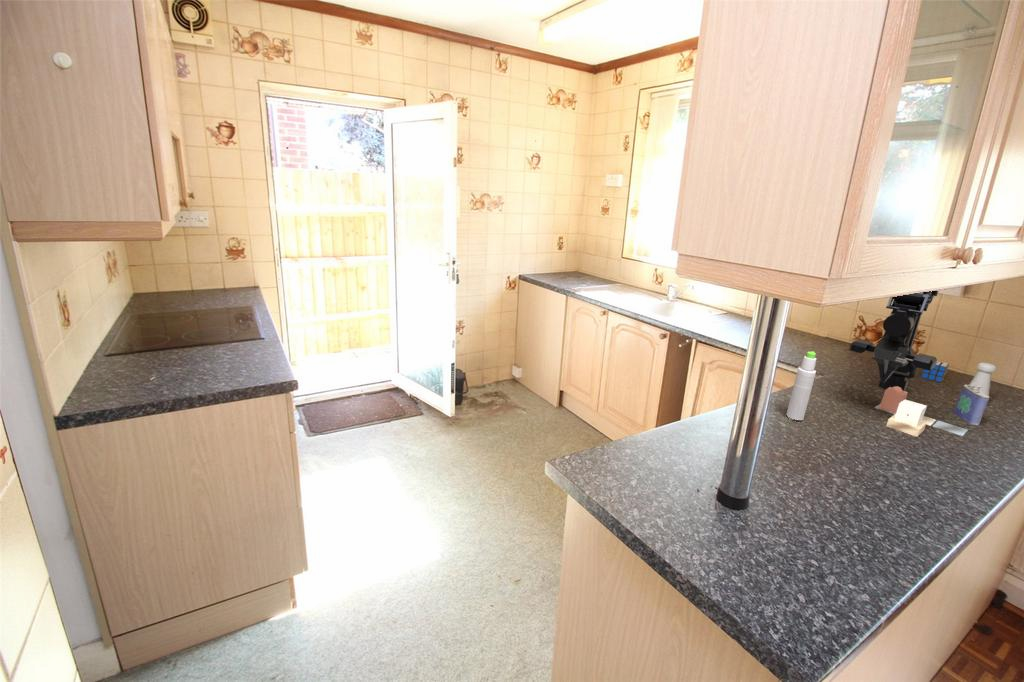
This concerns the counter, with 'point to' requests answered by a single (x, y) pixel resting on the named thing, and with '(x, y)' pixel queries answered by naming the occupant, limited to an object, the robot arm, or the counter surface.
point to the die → (910, 412)
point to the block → (906, 426)
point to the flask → (971, 404)
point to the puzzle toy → (936, 372)
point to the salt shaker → (983, 377)
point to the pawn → (893, 398)
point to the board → (938, 424)
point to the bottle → (802, 387)
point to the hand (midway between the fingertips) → (882, 382)
